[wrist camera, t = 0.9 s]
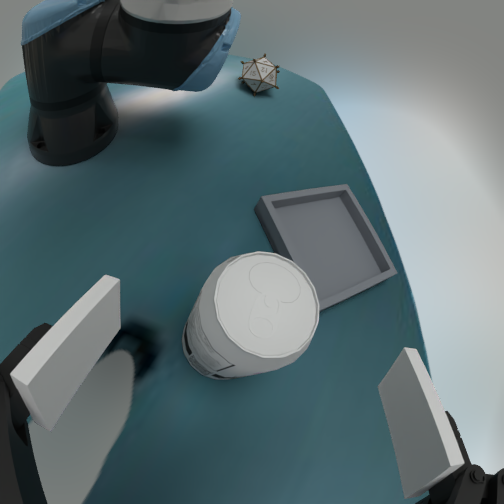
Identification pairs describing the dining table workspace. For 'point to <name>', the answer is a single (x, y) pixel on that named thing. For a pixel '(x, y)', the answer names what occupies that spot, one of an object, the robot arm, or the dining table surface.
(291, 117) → the dining table surface
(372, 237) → the tray
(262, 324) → the supplement can
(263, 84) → the game die
